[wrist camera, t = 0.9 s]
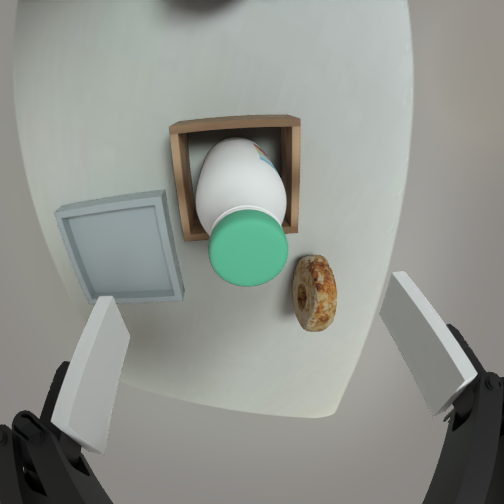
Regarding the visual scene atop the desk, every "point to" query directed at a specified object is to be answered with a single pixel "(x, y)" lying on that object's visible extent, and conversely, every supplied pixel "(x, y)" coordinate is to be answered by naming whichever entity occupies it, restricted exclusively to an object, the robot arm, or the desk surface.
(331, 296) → the bagel
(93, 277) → the tray
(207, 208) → the milk bottle
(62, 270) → the desk surface
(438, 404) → the robot arm
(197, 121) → the open wooden box frame
